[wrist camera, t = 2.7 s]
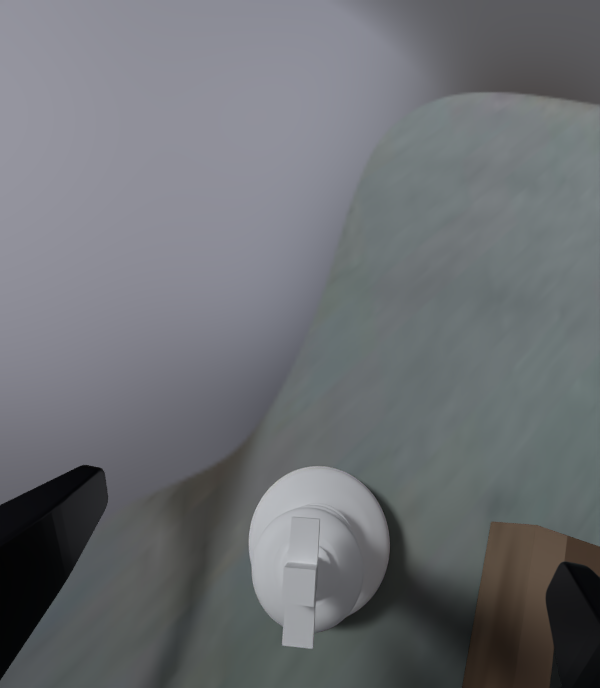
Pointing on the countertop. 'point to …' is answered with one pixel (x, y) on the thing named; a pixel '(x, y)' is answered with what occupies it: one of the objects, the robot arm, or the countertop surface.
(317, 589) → the chess piece
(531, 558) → the walnut collar
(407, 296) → the countertop surface
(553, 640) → the robot arm
